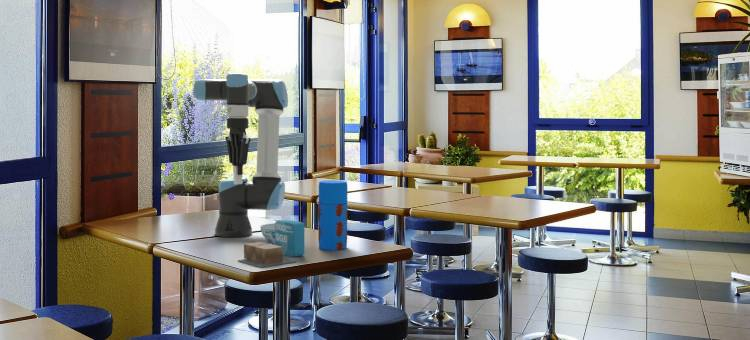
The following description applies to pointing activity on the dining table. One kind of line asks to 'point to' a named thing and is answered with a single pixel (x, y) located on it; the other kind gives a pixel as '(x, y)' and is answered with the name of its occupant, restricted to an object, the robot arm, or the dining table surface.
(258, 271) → the dining table surface
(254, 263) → the mat
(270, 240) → the chinaware
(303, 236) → the data package
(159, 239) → the dining table surface
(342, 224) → the thermos
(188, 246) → the dining table surface
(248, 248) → the block
